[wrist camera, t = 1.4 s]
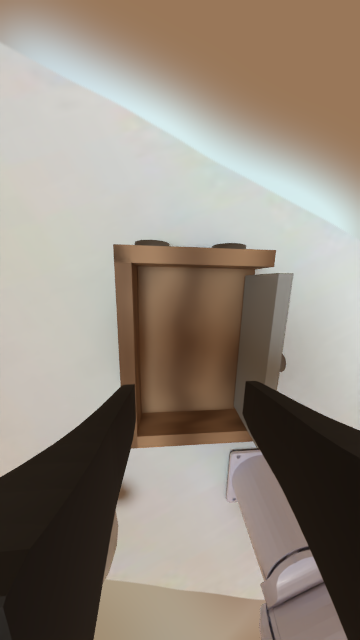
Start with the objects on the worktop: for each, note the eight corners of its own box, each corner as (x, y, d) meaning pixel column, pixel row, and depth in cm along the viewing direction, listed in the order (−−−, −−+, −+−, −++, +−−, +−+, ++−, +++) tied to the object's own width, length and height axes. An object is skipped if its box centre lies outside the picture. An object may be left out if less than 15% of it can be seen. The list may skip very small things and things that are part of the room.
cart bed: (247, 250, 18) (277, 239, 14) (232, 411, 22) (252, 448, 17) (127, 246, 17) (112, 232, 13) (133, 416, 21) (124, 456, 16)
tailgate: (264, 276, 17) (304, 273, 12) (249, 405, 20) (278, 446, 15) (245, 275, 17) (278, 273, 12) (233, 406, 19) (256, 447, 15)
